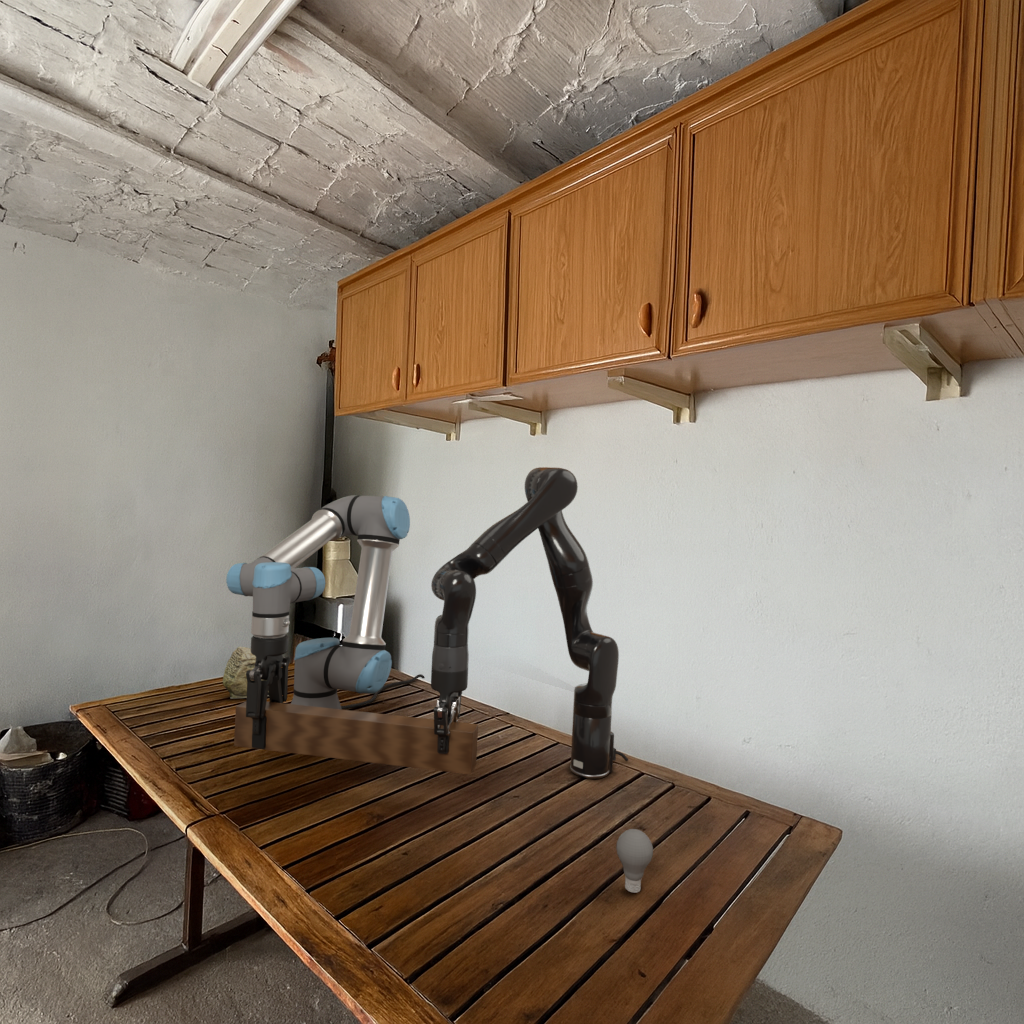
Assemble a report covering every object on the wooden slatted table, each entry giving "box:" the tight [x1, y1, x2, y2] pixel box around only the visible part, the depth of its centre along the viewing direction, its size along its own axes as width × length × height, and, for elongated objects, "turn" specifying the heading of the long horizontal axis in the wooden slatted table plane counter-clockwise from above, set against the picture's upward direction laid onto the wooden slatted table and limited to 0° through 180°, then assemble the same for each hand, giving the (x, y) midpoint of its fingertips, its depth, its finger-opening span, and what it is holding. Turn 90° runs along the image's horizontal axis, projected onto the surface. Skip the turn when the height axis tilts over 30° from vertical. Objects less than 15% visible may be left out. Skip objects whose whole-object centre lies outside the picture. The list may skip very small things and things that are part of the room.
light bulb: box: [615, 828, 654, 894], centre depth 106 cm, size 6×6×10 cm
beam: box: [233, 701, 479, 775], centre depth 133 cm, size 52×5×8 cm, turn 81°
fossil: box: [222, 646, 269, 699], centre depth 198 cm, size 9×18×15 cm, turn 132°
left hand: (265, 742), depth 136 cm, fingers closed on beam, 5 cm apart
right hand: (446, 747), depth 130 cm, fingers closed on beam, 5 cm apart
